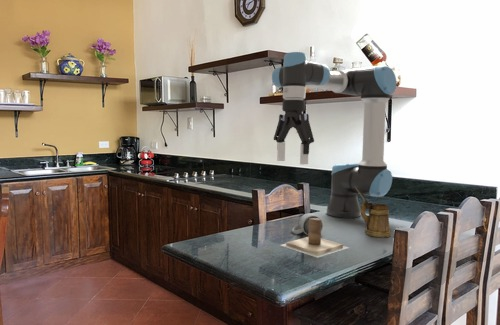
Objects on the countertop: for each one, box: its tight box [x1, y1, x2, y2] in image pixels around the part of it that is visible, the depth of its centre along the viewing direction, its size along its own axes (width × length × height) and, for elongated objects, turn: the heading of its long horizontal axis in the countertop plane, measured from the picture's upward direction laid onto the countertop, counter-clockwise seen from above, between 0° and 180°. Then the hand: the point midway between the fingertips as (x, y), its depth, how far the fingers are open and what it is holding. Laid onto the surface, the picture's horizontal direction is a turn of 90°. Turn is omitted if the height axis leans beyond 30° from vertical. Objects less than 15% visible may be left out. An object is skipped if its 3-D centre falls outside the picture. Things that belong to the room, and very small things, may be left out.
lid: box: [285, 217, 344, 255], centre depth 131 cm, size 13×13×9 cm
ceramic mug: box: [291, 212, 324, 236], centre depth 148 cm, size 11×8×8 cm
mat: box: [280, 243, 350, 259], centre depth 131 cm, size 16×16×1 cm
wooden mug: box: [355, 186, 392, 238], centre depth 148 cm, size 9×14×18 cm, turn 82°
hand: (292, 162), depth 137 cm, fingers open, 13 cm apart
